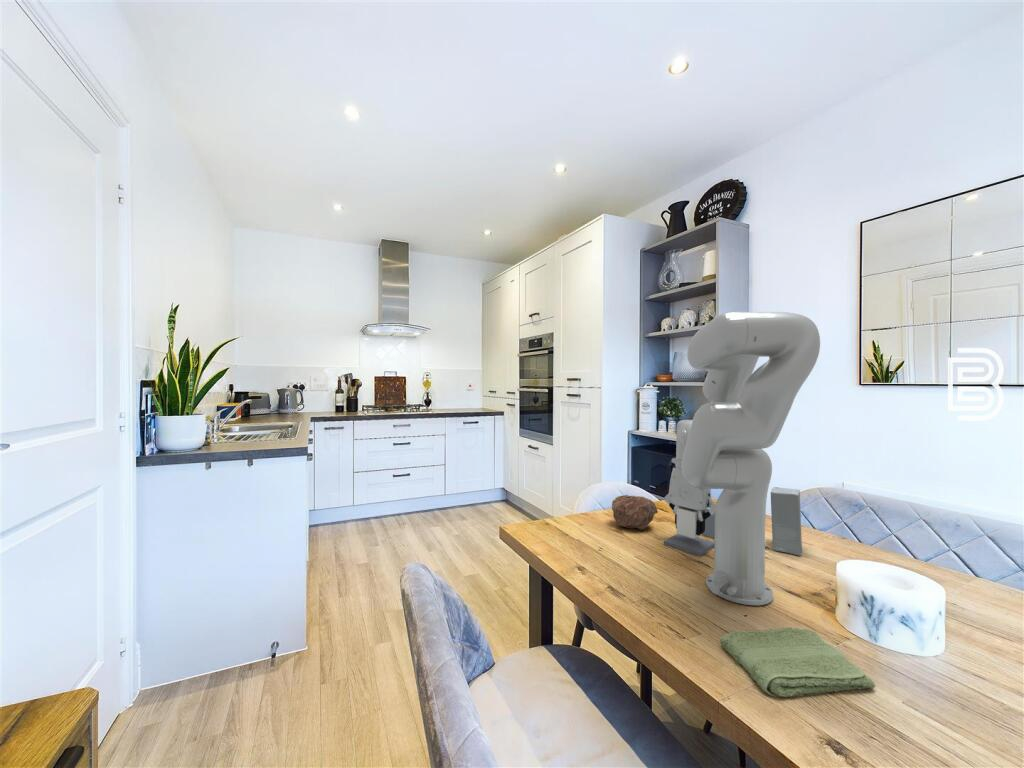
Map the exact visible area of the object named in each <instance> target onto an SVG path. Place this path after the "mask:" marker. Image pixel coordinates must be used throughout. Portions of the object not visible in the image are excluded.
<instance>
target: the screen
mask: <svg viewBox="0 0 1024 768" xmlns="http://www.w3.org/2000/svg"><path fill="white" fill-rule="evenodd" d="M705 510H706V512H708V511H710V508H706V509H705ZM701 536H703V537H708V538H711V539H714V540H715V514H713V515H711V516H710V517H708V518H707V519H705V532H704V533H703V534H702V535H701Z"/></svg>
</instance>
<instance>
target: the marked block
mask: <svg viewBox="0 0 1024 768" xmlns="http://www.w3.org/2000/svg"><path fill="white" fill-rule="evenodd" d="M697 520H698V515H697V511H696V510H693V509H689V508H685V507H681V506H680V507H678V508H677V529H676V534H681V535H684V536H687V537H690V538H694V539H695V538H697V537H700V536H703V535H702V534H701V535H697V534H696V523H697Z"/></svg>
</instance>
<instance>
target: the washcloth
mask: <svg viewBox="0 0 1024 768" xmlns="http://www.w3.org/2000/svg"><path fill="white" fill-rule="evenodd" d="M719 643H720V645H721V647H722V648H723V649H725V651H726V652H727V653H729V655H731V656H732V657H733V659H734V660H735V662H736V663H737V664H738V665H740V666H742V667H743V668H744V669H745V670H746V672H747V673H749V675H750V678H751V679H753V681H755V682H756V683H757V685H758V686H759V687H760V689H761V691H762V692H765V693H766V694H767V695H769V696H771V697H773V698H774V697H782V698H789V697H804V696H806V695H807V696H809V695H810V696H813V695H819V694H820V695H821V694H824V693H830V692H835V693H837V692H840V691H841V692H843V691H847V692H848V691H850V690H865V689H874V688H876V683H875V682H874V681H873V679H872V678H871V677H870V676H868V675H867V674H865V672H864V671H863V670H862V669H861V668H859V667H858V666H857V665H855V664H854V663H853V662H852V661H851V660H849V659H847V657H846V656H845V655H844V653H843V652H841V651H840V649H838V648H837V647H836V646H834V645H832V644H829V643H828V642H827V641H825V640H824V639H823V638H822V636H820V634H819V633H817V632H816V631H813V630H811V629H807V628H799V627H794V628H793V627H785V628H784V627H782V628H769V629H763V630H747V629H746V630H743V631H742V630H739V631H730V632H727V633H725V634H722V635H721V637H720V638H719Z"/></svg>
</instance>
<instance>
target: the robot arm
mask: <svg viewBox="0 0 1024 768" xmlns="http://www.w3.org/2000/svg"><path fill="white" fill-rule="evenodd" d="M688 344H689V345H688V347H687V356H686V357H687V361H688V364H689V365H690V366H691V368H693V369H694V370H695V369H696V370H708V371H707V373H706V377H705V379H704V382H703V385H702V393H703V395H704V397H705V398H706V399H707V400H709V401H710V402H707V403H704V404H703V405H701V406H700V407H699V408H698V409H697V410H696V412H695V414H694V415H693V418H692V419H682V420H679V421H678V422H677V423H676V443H675V445H676V448H675V450H676V451H675V455H676V456H675V457H673V458H671V463H673V464H675V465H674V466H675V467H673V468H672V471H671V474H670V475H671V476H670V480H669V489H668V493H667V494H666V495H665V496H664V498H663V501H665V502H666V504H667V505H668V506H669V507H670V509H671V510H672V512H673V514H674V525H675V529H676V530H677V508H678V507H680V506H681V507H685V508H689V509H693V510H696V511H697V515H698V520H697V523H696V534H697V535H700V536H702V535H701V534H703V533H704V532H705V519H707V518H708V517H710V516H711V515H713V514H715V539H714V541H713V542H714V548H713V549H714V550H713V551H714V554H713V559H714V560H713V562H714V563H713V565H714V566H713V572H712V573H709V574H708V575H706V578H705V583H706V587H707V588H708V590H710V591H711V593H712V594H713V595H716V596H718V597H719V598H722V599H724V600H727V601H730V602H732V603H736V604H740V605H746V606H757V607H758V606H765V605H768V604H770V603H771V602H772V601H773V599H774V592H773V589H772V588H771V587H770V586H768V585H767V584H766V583H765V570H766V569H765V564H766V563H765V562H766V513H767V512H766V511H767V499H768V492H769V488H770V482H771V478H772V475H773V474H772V473H773V464H772V460H771V458H770V456H769V454H768V453H767V452H766V451H765V450H764V449H767V448H770V447H772V446H773V445H774V444H775V443H776V441H777V440H778V438H779V436H780V434H781V431H782V429H783V427H784V425H785V423H786V420H787V419H788V415H789V412H790V410H791V409H792V406H793V403H794V401H795V399H796V396H797V395H798V393H799V392H800V390H801V388H802V386H803V385H804V383H805V381H807V379H808V377H809V376H810V374H811V372H812V371H813V369H814V367H815V365H816V364H817V360H818V359H819V354H820V350H821V337H820V333H819V329H818V327H817V325H816V324H815V322H814V321H813V320H812V319H810V318H809V317H807V316H805V315H803V314H800V313H794V312H786V311H785V312H784V311H728V312H723V313H721V314H719V315H717V316H715V317H714V318H712V319H711V320H710V321H708V322H707V323H706V324H705V325H703V326H702V327H701V328H700V329H698V330H697V332H696V333H694V335H693V336H692V337H691V340H690V342H689V343H688ZM761 357H763V358H765V357H768V360H767V361H766V362H764V363H763V364H761V365H760V366H758V368H756V370H754V369H755V367H756V365H757V362H758V360H759V358H761ZM712 489H713V490H722V491H721V492H720V494H719V495H718V498H717V500H716V503H714V501H713V500H712ZM706 508H710V511H708V512H706V510H705V509H706Z"/></svg>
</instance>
